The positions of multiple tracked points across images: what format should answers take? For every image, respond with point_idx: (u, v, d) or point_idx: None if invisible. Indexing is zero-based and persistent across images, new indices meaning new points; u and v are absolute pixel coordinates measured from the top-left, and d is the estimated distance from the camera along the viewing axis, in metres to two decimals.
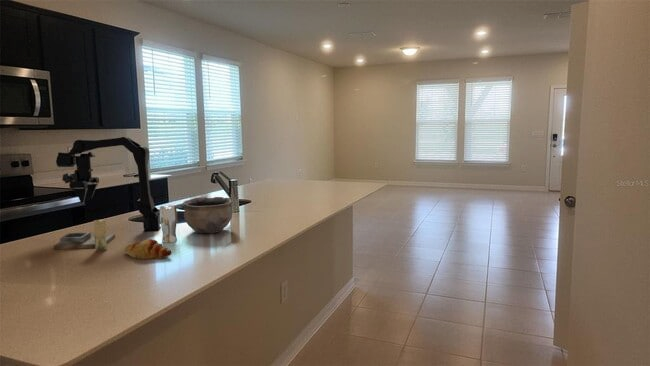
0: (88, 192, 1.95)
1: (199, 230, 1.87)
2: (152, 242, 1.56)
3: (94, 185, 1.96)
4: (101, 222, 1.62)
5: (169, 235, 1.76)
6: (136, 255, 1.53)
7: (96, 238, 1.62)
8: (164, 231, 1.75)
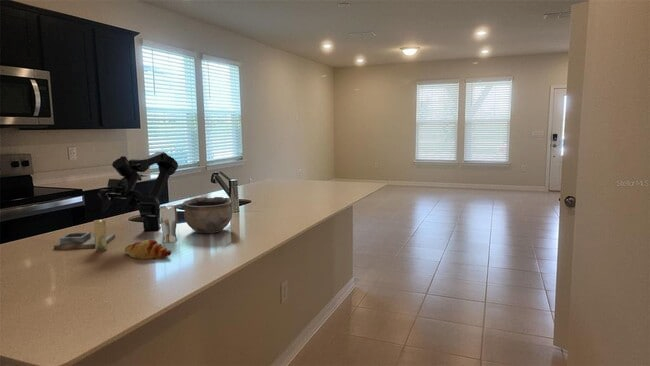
0: (105, 205, 1.73)
1: (199, 230, 1.87)
2: (152, 242, 1.56)
3: (111, 202, 1.77)
4: (101, 222, 1.62)
5: (169, 235, 1.76)
6: (136, 255, 1.54)
7: (96, 238, 1.62)
8: (164, 231, 1.75)
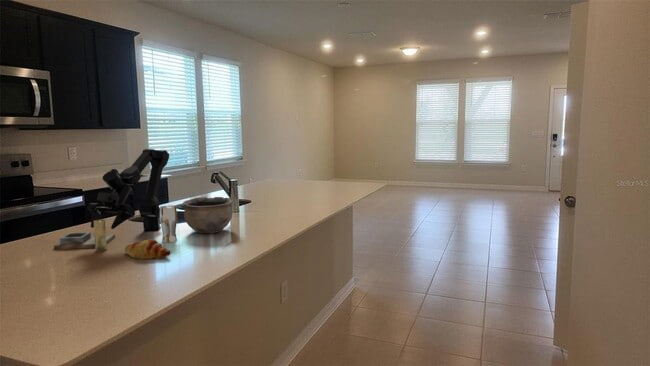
0: (94, 220, 1.67)
1: (199, 230, 1.87)
2: (151, 242, 1.56)
3: (101, 216, 1.71)
4: (101, 222, 1.62)
5: (169, 235, 1.76)
6: (135, 255, 1.53)
7: (96, 238, 1.62)
8: (164, 231, 1.75)
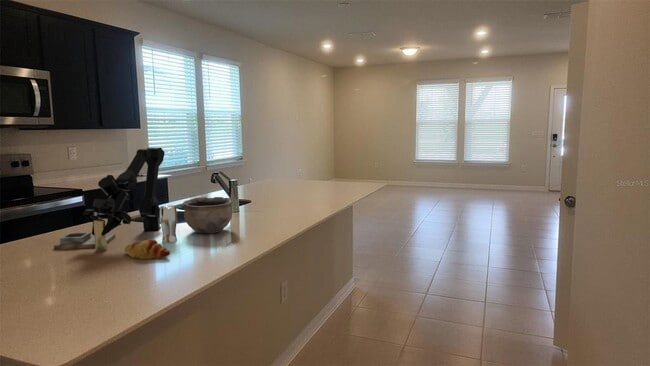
0: None
1: (199, 230, 1.87)
2: (151, 242, 1.55)
3: None
4: (101, 222, 1.62)
5: (169, 235, 1.76)
6: (135, 255, 1.53)
7: (96, 238, 1.62)
8: (164, 231, 1.75)
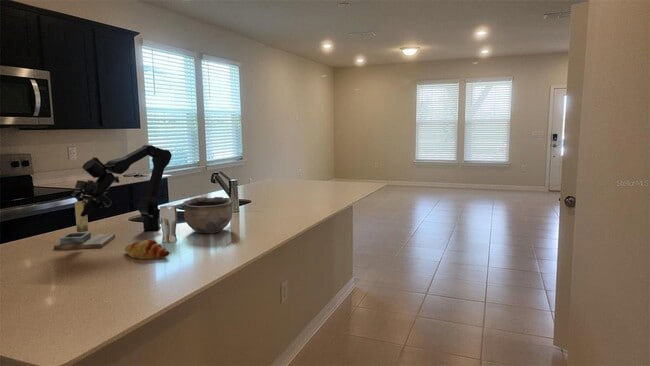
0: None
1: (199, 230, 1.87)
2: (151, 242, 1.55)
3: None
4: (80, 203, 1.64)
5: (169, 235, 1.76)
6: (134, 255, 1.53)
7: (76, 219, 1.65)
8: (164, 231, 1.75)
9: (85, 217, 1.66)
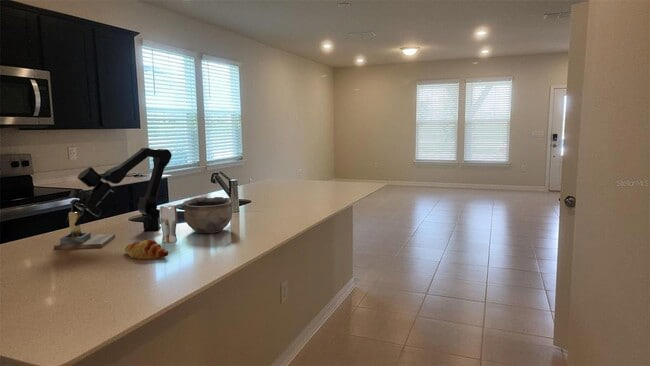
0: None
1: (199, 230, 1.87)
2: (150, 242, 1.55)
3: (81, 212, 1.77)
4: (73, 214, 1.69)
5: (169, 235, 1.76)
6: (134, 255, 1.53)
7: (70, 229, 1.70)
8: (164, 231, 1.75)
9: (78, 228, 1.71)
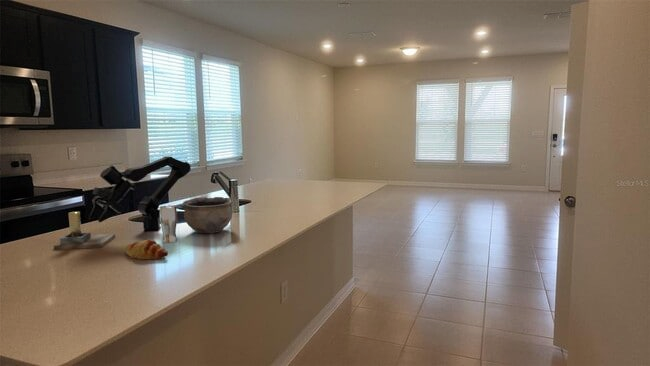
0: (93, 212, 1.81)
1: (199, 230, 1.87)
2: (149, 243, 1.55)
3: (103, 209, 1.84)
4: (73, 214, 1.69)
5: (169, 235, 1.76)
6: (133, 255, 1.53)
7: (70, 229, 1.70)
8: (164, 231, 1.75)
9: (78, 228, 1.71)
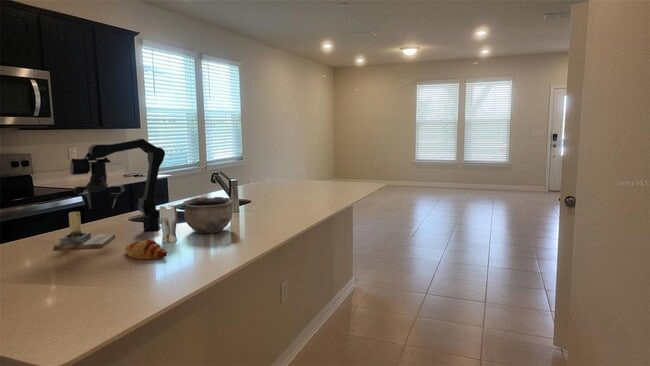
0: (88, 202, 1.80)
1: (199, 230, 1.87)
2: (149, 242, 1.55)
3: (89, 193, 1.82)
4: (73, 214, 1.69)
5: (169, 235, 1.76)
6: (133, 255, 1.53)
7: (70, 229, 1.70)
8: (164, 231, 1.75)
9: (78, 228, 1.71)
